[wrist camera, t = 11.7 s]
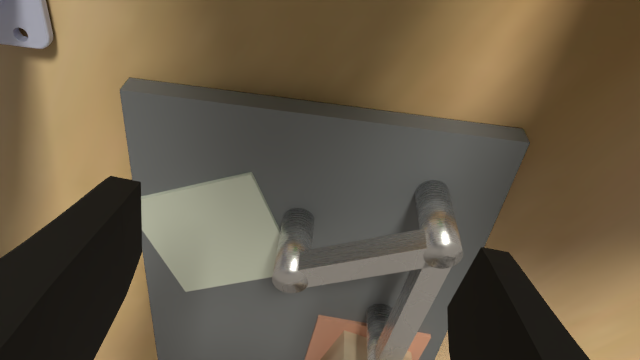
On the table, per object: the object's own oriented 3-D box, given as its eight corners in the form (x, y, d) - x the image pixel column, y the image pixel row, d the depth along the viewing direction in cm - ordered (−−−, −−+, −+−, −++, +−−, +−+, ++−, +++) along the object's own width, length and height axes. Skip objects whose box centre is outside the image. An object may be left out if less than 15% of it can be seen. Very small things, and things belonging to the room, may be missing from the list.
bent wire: (274, 308, 26) (264, 370, 24) (287, 161, 21) (277, 220, 18) (403, 324, 27) (409, 387, 24) (453, 182, 21) (468, 243, 18)
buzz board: (156, 352, 31) (150, 370, 30) (117, 76, 20) (105, 90, 19) (416, 382, 32) (417, 401, 31) (522, 128, 20) (531, 145, 19)
